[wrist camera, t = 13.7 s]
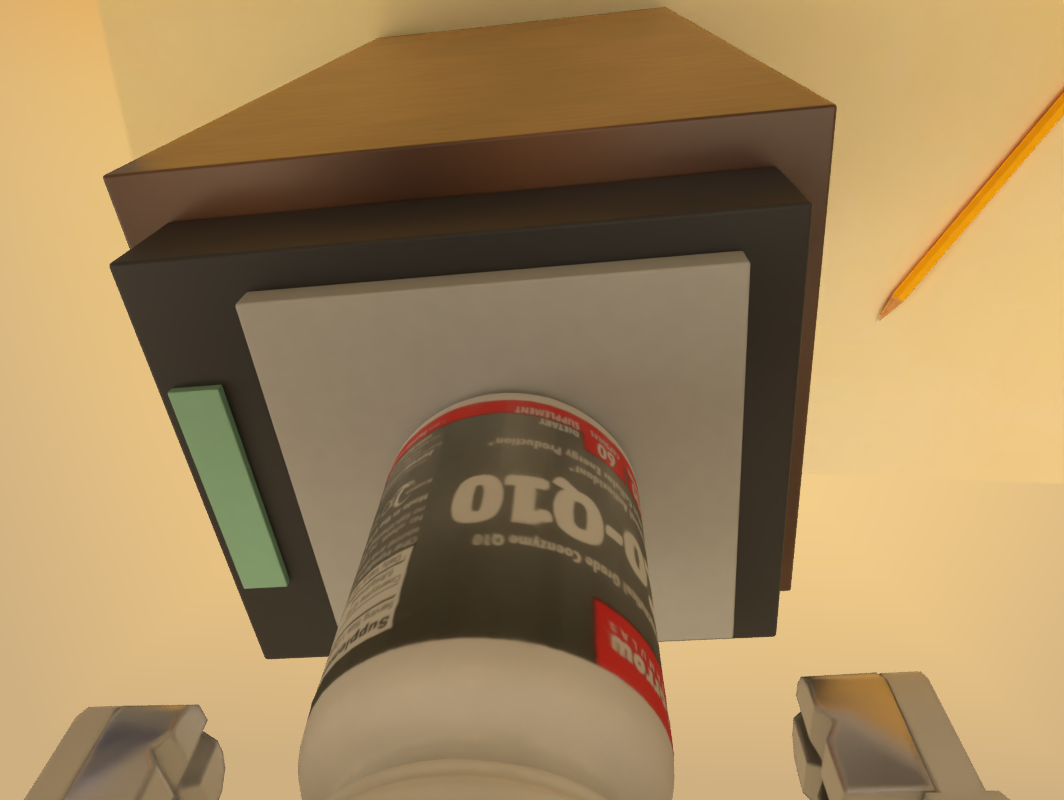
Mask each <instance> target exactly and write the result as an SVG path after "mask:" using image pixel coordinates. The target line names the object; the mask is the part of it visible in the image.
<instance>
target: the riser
mask: <svg viewBox="0 0 1064 800" xmlns="http://www.w3.org/2000/svg"><path fill="white" fill-rule="evenodd" d="M836 109H837V107H836V105H835V104H834V103H832V102H830V101H828V100H827V99H825V98H823V97H821V96H820V95H818V94H816V93H814V92H813V91H811V90H809V89H807V88H806V87H804V86H802V85H800V84H799V83H797V82H795V81H793V80H792V79H790V78H788V77H787V76H785V75H783V74H781V73H780V72H778V71H776V70H774V69H773V68H771V67H769V66H767V65H766V64H764V63H762V62H760V61H759V60H757V59H755V58H753V57H752V56H750V55H748V54H746V53H745V52H743V51H741V50H739V49H738V48H736V47H734V46H732V45H731V44H729V43H727V42H725V41H724V40H722V39H720V38H718V37H717V36H715V35H713V34H712V33H710V32H708V31H706V30H705V29H703V28H701V27H699V26H698V25H696V24H694V23H692V22H691V21H689V20H687V19H685V18H684V17H682V16H680V15H678V14H677V13H675V12H673V11H671V10H670V9H668V8H666V7H663V8H654V9H644V10H635V11H626V12H617V13H607V14H598V15H589V16H580V17H571V18H561V19H552V20H543V21H534V22H525V23H515V24H506V25H497V26H488V27H478V28H469V29H460V30H451V31H442V32H432V33H423V34H414V35H405V36H395V37H386V38H377V39H375V40H373V41H371V42H369V43H367V44H365V45H363V46H361V47H359V48H357V49H355V50H353V51H351V52H349V53H347V54H345V55H343V56H341V57H339V58H337V59H335V60H333V61H331V62H329V63H327V64H325V65H323V66H321V67H319V68H317V69H315V70H313V71H311V72H309V73H307V74H305V75H303V76H301V77H299V78H297V79H295V80H293V81H291V82H289V83H287V84H285V85H283V86H281V87H279V88H277V89H275V90H273V91H271V92H269V93H267V94H265V95H263V96H261V97H259V98H257V99H255V100H253V101H251V102H249V103H247V104H245V105H243V106H241V107H239V108H237V109H235V110H233V111H231V112H230V113H228V114H226V115H224V116H222V117H220V118H218V119H216V120H214V121H212V122H210V123H208V124H206V125H204V126H202V127H200V128H198V129H196V130H194V131H192V132H190V133H188V134H186V135H184V136H182V137H180V138H178V139H176V140H174V141H172V142H170V143H168V144H166V145H164V146H162V147H160V148H158V149H156V150H154V151H152V152H150V153H148V154H146V155H144V156H142V157H140V158H138V159H136V160H134V161H132V162H130V163H128V164H126V165H124V166H122V167H120V168H118V169H116V170H114V171H112V172H110V173H108V174H106V175H104V176H103V179H104V182H105V185H106V187H107V190H108V192H109V195H110V198H111V200H112V203H113V206H114V208H115V211H116V213H117V216H118V219H119V221H120V224H121V227H122V229H123V232H124V235H125V237H126V240H127V243H128V245H129V248H130V249H132V248H133V247H135V246H136V245H137V244H139V243H140V242H142V241H143V240H144V239H146V238H147V237H149V236H150V235H152V234H153V233H154V232H156V231H157V230H159V229H160V228H161V227H163V226H164V225H166V224H167V223H169V222H178V221H189V220H199V219H210V218H221V217H232V216H243V215H254V214H265V213H276V212H287V211H298V210H309V209H320V208H331V207H342V206H353V205H364V204H374V203H385V202H396V201H407V200H418V199H429V198H440V197H451V196H462V195H473V194H484V193H495V192H506V191H517V190H528V189H539V188H549V187H560V186H571V185H582V184H593V183H604V182H615V181H626V180H637V179H648V178H659V177H670V176H681V175H692V174H703V173H713V172H724V171H735V170H746V169H757V168H768V167H777V168H779V169H780V170H781V171H782V172H783V173H784V174H785V176H786V177H787V178H788V179H789V180H790V181H791V182H792V183H793V184H794V185H795V186H796V187H797V188H798V189H799V190H800V191H801V192H802V193H803V194H804V195H805V196H806V197H807V198H808V199H809V200H810V201H811V202H812V204H813V209H812V221H811V233H810V244H809V256H808V268H807V279H806V291H805V303H804V314H803V326H802V338H801V349H800V361H799V372H798V384H797V396H796V407H795V419H794V431H793V442H792V454H791V466H790V477H789V489H788V500H787V512H786V524H785V535H784V547H783V559H782V570H781V582H780V591H788V590H790V589H791V579H792V570H793V559H794V548H795V538H796V528H797V518H798V507H799V496H800V486H801V476H802V465H803V455H804V444H805V434H806V423H807V413H808V402H809V392H810V381H811V371H812V360H813V350H814V340H815V329H816V319H817V308H818V298H819V287H820V277H821V266H822V256H823V245H824V235H825V224H826V214H827V203H828V193H829V182H830V172H831V162H832V151H833V141H834V130H835V120H836Z"/></svg>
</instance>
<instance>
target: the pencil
mask: <svg viewBox="0 0 1064 800" xmlns="http://www.w3.org/2000/svg"><path fill="white" fill-rule="evenodd" d="M1063 115H1064V92H1063V93H1062V94H1061V96H1060V97H1059V98H1058V99H1057V100H1056V101H1055V103H1054V104H1053V105H1052V106H1051V107H1050V109H1049V110H1048V111H1047V112H1046V113H1045V114H1044V116H1043V117H1042V118H1041V119H1040V120H1039V122H1038V123H1037V124H1036V125H1035V126H1034V127H1033V129H1032V130H1031V131H1030V132H1029V133H1028V134H1027V136H1026V137H1025V138H1024V139H1023V140H1022V142H1021V143H1020V144H1019V145H1018V146H1017V147H1016V149H1015V150H1014V151H1013V152H1012V153H1011V155H1010V156H1009V157H1008V158H1007V159H1006V160H1005V162H1004V163H1003V164H1002V165H1001V166H1000V168H999V169H998V170H997V171H996V172H995V173H994V175H993V176H992V177H991V178H990V179H989V181H988V182H987V183H986V184H985V185H984V186H983V188H982V189H981V190H980V191H979V192H978V194H977V195H976V196H975V197H974V198H973V199H972V201H971V202H970V203H969V204H968V205H967V207H966V208H965V209H964V210H963V211H962V212H961V214H960V215H959V216H958V217H957V218H956V220H955V221H954V222H953V223H952V224H951V225H950V227H949V228H948V229H947V230H946V231H945V233H944V234H943V235H942V236H941V237H940V238H939V240H938V241H937V242H936V243H935V244H934V245H933V247H932V248H931V249H930V250H929V251H928V253H927V254H926V255H925V256H924V257H923V258H922V260H921V261H920V262H919V263H918V264H917V266H916V267H915V268H914V269H913V270H912V271H911V273H910V274H909V275H908V276H907V277H906V279H905V280H904V281H903V282H902V283H901V284H900V286H899V287H898V288H897V289H896V290H895V292H894V293H893V294H892V296H891V297H890V299H889V301H888V303H887V304H886V306H885V308H884V309H883V311H882V313H881V315H880V316H879V318H878V321H879V320H881V319H882V318H884V317H885V316H886V315H887V314H888V313H890V312H891V311H892V310H893V309H895V308H896V307H897V306H898V305H899V304H901V303H902V302H903V301H904V300H905V299H906V298H907V296H908V295H909V294H910V293H911V292H912V291H913V289H914V288H915V287H916V286H917V285H918V284H919V282H920V281H921V280H922V279H923V278H924V277H925V275H926V274H927V273H928V272H929V271H930V270H931V268H932V267H933V266H934V265H935V264H936V263H937V261H938V260H939V259H940V258H941V257H942V256H943V255H944V253H945V252H946V251H947V250H948V249H949V248H950V246H951V245H952V244H953V243H954V242H955V241H956V239H957V238H958V237H959V236H960V235H961V234H962V232H963V231H964V230H965V229H966V228H967V227H968V225H969V224H970V223H971V222H972V221H973V220H974V218H975V217H976V216H977V215H978V214H979V213H980V211H981V210H982V209H983V208H984V207H985V206H986V204H987V203H988V202H989V201H990V200H991V199H992V198H993V196H994V195H995V194H996V193H997V192H998V191H999V189H1000V188H1001V187H1002V186H1003V185H1004V184H1005V182H1006V181H1007V180H1008V179H1009V178H1010V177H1011V175H1012V174H1013V173H1014V172H1015V171H1016V170H1017V168H1018V167H1019V166H1020V165H1021V164H1022V163H1023V161H1024V160H1025V159H1026V158H1027V157H1028V156H1029V154H1030V153H1031V152H1032V151H1033V150H1034V149H1035V147H1036V146H1037V145H1038V144H1039V143H1040V142H1041V140H1042V139H1043V138H1044V137H1045V136H1046V135H1047V134H1048V132H1049V131H1050V130H1051V129H1052V128H1053V127H1054V125H1055V124H1056V123H1057V122H1058V121H1059V120H1060V118H1061V117H1062V116H1063ZM878 321H877V322H878Z"/></svg>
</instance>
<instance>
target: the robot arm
mask: <svg viewBox="0 0 1064 800" xmlns="http://www.w3.org/2000/svg"><path fill="white" fill-rule="evenodd" d="M796 696H797V700H798V703H799V706H800V710H801V712H800V713H799V714H798V715H797V716H795V717H794V720H793V734H792V736H793V748H794V758H795V763H796V767H797V772H798V776H799V780H800V783H801V787H802V791H803V793H804V794H805V795H806V796H807V797H808V798H809V799H810V800H1010V799H1008V798H1007V797H1006V796H1005V795H1003V794H1002V793H1001V792H1000V791H986V790H985V788H984V786H983V784H982V782H981V780H980V778H979V776H978V775H977V773H976V771H975V769H974V767H973V765H972V763H971V761H970V759H969V757H968V755H967V753H966V751H965V749H964V747H963V745H962V744H961V741H960V739H959V737H958V736H957V734H956V732H955V730H954V728H953V726H952V724H951V722H950V720H949V718H948V716H947V714H946V712H945V710H944V708H943V706H942V704H941V702H940V700H939V699H938V697H937V695H936V693H935V691H934V689H933V687H932V685H931V683H930V681H929V679H928V678H927V677H926V676H925V675H924V674H922V673H921V672H898V673H880V674H878V673H859V674H842V675H824V676H808V677H801V678H800V680H799V681H798V685H797V693H796ZM206 722H207V718H206V716H205V714H204V713H203V711H202V709H201V707H200V706H199V705H148V706H105V707H88V708H87V709H85V710H84V711H83V712H82V713H80V714H79V715H78V716H77V717H76V718H75V719H74V721H73V723H72V724H71V726H70V728H69V729H68V731H67V732H66V734H65V735H64V737H63V739H62V740H61V742H60V743H59V745H58V747H57V748H56V750H55V751H54V753H53V754H52V756H51V758H50V759H49V761H48V763H47V764H46V766H45V767H44V769H43V770H42V772H41V774H40V775H39V777H38V778H37V780H36V781H35V783H34V785H33V786H32V788H31V789H30V791H29V793H28V794H27V796H26V797H25V799H24V800H219V798H220V795H221V792H222V788H223V781H224V773H225V763H224V756H223V751H222V749H221V747H220V745H219V743H218V741H217V740H216V739H214V738H213V737H211V736H210V735H208V734H206V733H205V732H203V729H204V727H205V725H206Z"/></svg>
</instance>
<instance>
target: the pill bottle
mask: <svg viewBox="0 0 1064 800" xmlns="http://www.w3.org/2000/svg"><path fill="white" fill-rule="evenodd" d="M298 775H299V785H300V790H301V797H302V800H672V796H673V789H674V752H673V744H672V736H671V730H670V721H669V716H668V711H667V703H666V695H665V689H664V682H663V675H662V668H661V661H660V653H659V644H658V638H657V631H656V624H655V615H654V605H653V598H652V591H651V585H650V577H649V571H648V563H647V556H646V548H645V539H644V532H643V525H642V515H641V508H640V499H639V494H638V487H637V483H636V479H635V475H634V472H633V469H632V466H631V464H630V462H629V460H628V458H627V456H626V454H625V453H624V451H623V450H622V448H621V447H620V445H619V444H618V443H617V441H616V440H615V439H614V438H613V437H612V436H611V435H610V434H609V433H608V432H607V431H606V430H605V429H604V428H603V427H602V426H601V425H600V424H598V423H597V422H596V421H595V420H593V419H592V418H590V417H589V416H588V415H586V414H584V413H583V412H581V411H579V410H578V409H576V408H574V407H572V406H570V405H568V404H565V403H563V402H560V401H557V400H555V399H551V398H548V397H543V396H539V395H532V394H523V393H496V394H487V395H482V396H478V397H474V398H470V399H467V400H464V401H461V402H458V403H456V404H454V405H452V406H449V407H447V408H446V409H444V410H442V411H440V412H439V413H437V414H436V415H434V416H433V417H431V418H430V419H429V420H427V421H426V422H425V423H423V424H422V425H421V426H420V427H419V428H418V429H417V430H416V431H415V432H414V433H413V434H412V435H411V436H410V437H409V438H408V440H407V441H406V442H405V443H404V445H403V446H402V448H401V449H400V451H399V453H398V455H397V457H396V459H395V461H394V464H393V466H392V468H391V471H390V473H389V475H388V478H387V481H386V483H385V488H384V491H383V494H382V497H381V500H380V503H379V507H378V510H377V512H376V515H375V518H374V521H373V524H372V527H371V530H370V533H369V537H368V540H367V543H366V546H365V549H364V552H363V555H362V558H361V561H360V564H359V567H358V570H357V573H356V576H355V579H354V582H353V585H352V588H351V591H350V594H349V597H348V600H347V603H346V606H345V609H344V611H343V614H342V617H341V620H340V623H339V626H338V630H337V633H336V636H335V639H334V642H333V645H332V648H331V651H330V654H329V657H328V660H327V663H326V666H325V669H324V672H323V675H322V678H321V681H320V684H319V686H318V689H317V692H316V695H315V697H314V699H313V702H312V705H311V710H310V713H309V717H308V720H307V724H306V728H305V731H304V735H303V739H302V743H301V746H300V754H299V765H298Z"/></svg>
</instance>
